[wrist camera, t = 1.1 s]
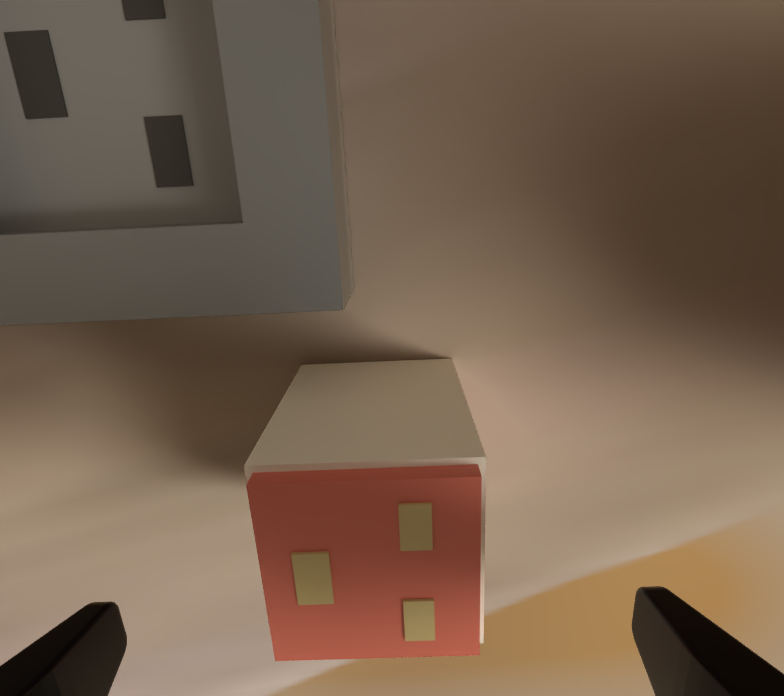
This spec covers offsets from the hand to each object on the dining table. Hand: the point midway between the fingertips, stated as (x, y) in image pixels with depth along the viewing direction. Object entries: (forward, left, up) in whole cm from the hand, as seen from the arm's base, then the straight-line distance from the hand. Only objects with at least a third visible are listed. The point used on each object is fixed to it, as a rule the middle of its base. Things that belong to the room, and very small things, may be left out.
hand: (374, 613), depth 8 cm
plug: (0, 0, -7) cm, 7 cm away
